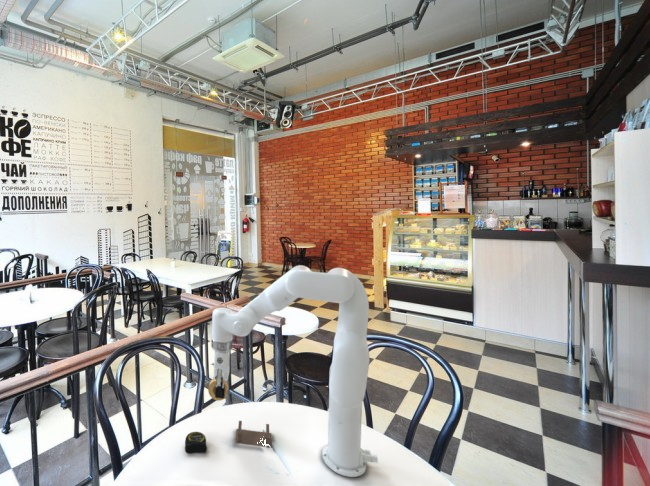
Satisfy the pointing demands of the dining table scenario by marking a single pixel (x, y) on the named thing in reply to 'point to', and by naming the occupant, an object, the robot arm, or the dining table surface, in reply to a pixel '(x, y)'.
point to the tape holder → (252, 436)
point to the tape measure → (195, 443)
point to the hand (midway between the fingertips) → (220, 394)
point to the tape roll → (212, 389)
